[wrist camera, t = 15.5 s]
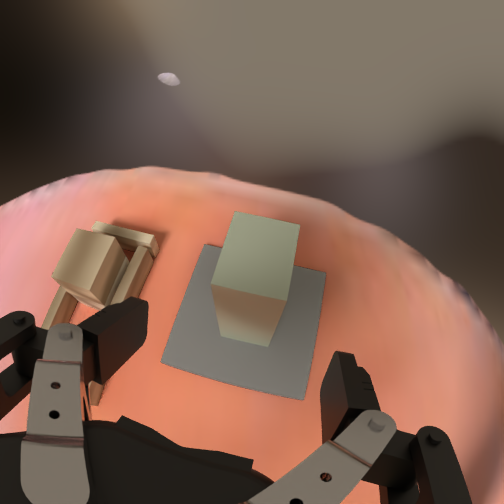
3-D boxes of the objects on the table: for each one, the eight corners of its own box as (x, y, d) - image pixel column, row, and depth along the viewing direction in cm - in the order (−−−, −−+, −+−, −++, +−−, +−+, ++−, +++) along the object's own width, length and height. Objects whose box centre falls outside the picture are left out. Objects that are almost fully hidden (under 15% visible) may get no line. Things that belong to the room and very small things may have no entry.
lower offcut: (135, 272, 27) (126, 256, 24) (115, 317, 24) (103, 305, 22) (101, 261, 27) (90, 245, 25) (81, 303, 25) (67, 290, 22)
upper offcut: (126, 256, 24) (115, 237, 22) (104, 305, 22) (89, 290, 19) (89, 246, 25) (76, 228, 22) (67, 292, 22) (51, 276, 20)
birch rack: (159, 249, 28) (154, 235, 26) (97, 405, 20) (84, 403, 17) (104, 234, 29) (96, 220, 27) (41, 372, 20) (26, 366, 18)
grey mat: (324, 275, 27) (326, 272, 27) (302, 400, 21) (303, 399, 21) (205, 247, 29) (204, 244, 28) (162, 363, 22) (160, 361, 22)
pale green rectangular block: (279, 293, 26) (300, 224, 17) (268, 346, 23) (286, 301, 15) (235, 284, 26) (234, 211, 17) (220, 336, 23) (210, 283, 15)
